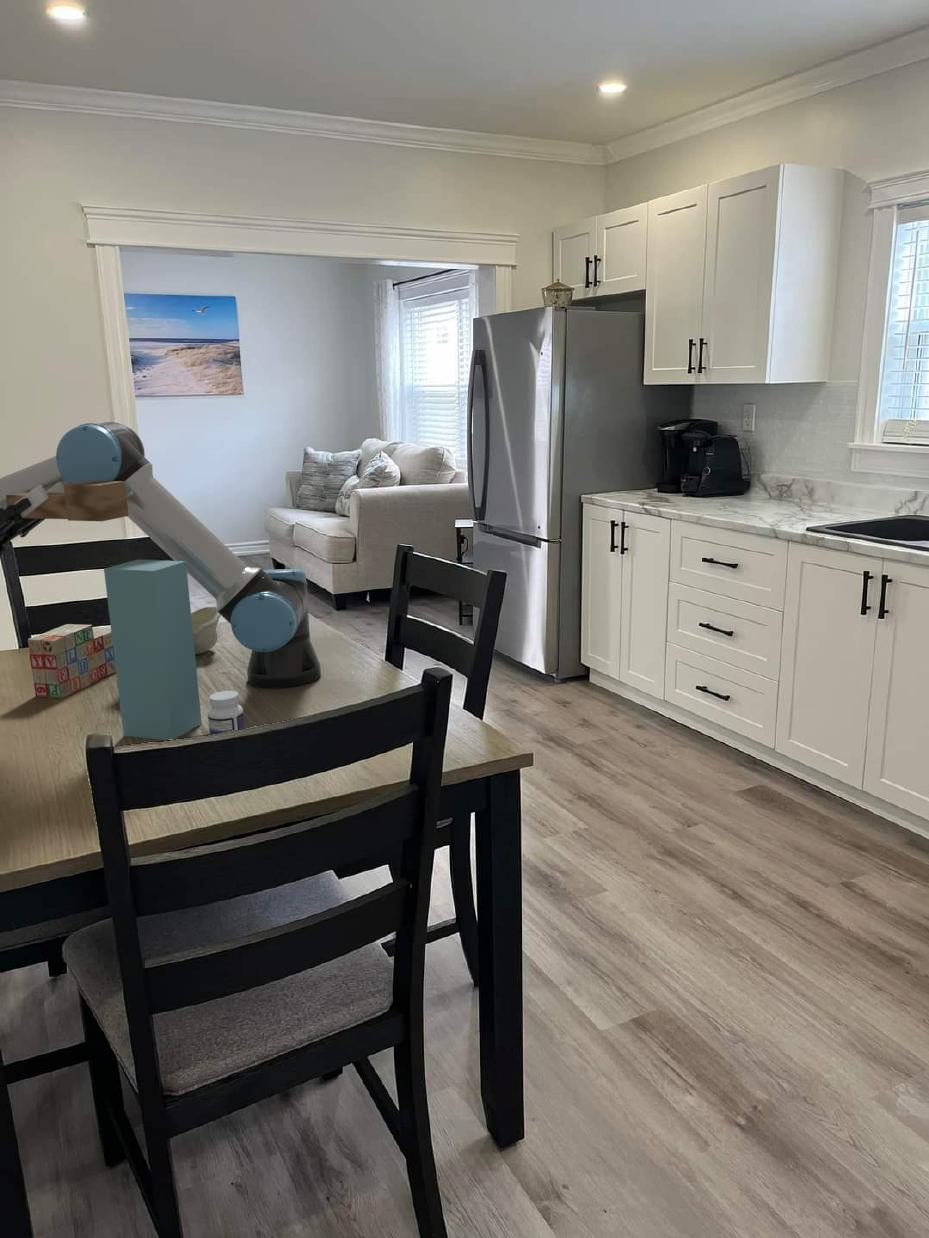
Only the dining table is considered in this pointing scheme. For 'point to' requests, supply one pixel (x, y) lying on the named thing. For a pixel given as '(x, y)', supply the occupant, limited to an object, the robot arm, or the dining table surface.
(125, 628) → the stand
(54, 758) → the dining table surface
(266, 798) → the dining table surface
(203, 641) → the bowl
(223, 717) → the pill bottle
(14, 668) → the dining table surface
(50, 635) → the stack of blocks
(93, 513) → the brown wooden block
